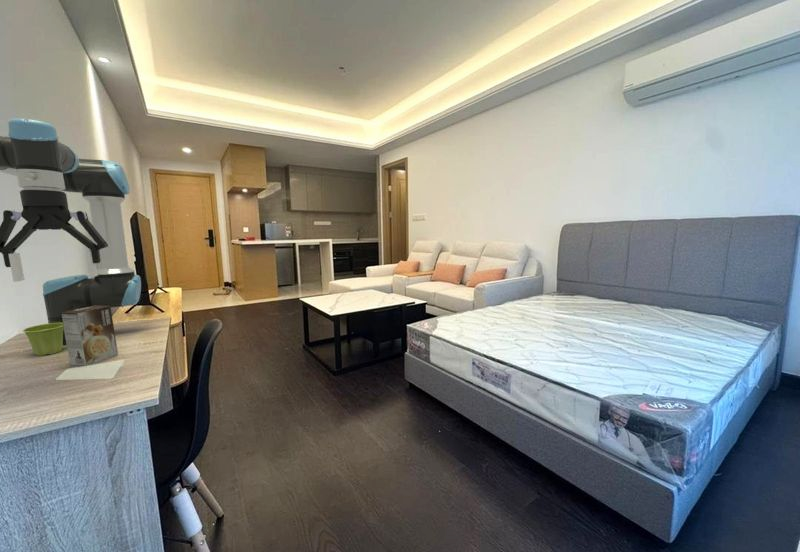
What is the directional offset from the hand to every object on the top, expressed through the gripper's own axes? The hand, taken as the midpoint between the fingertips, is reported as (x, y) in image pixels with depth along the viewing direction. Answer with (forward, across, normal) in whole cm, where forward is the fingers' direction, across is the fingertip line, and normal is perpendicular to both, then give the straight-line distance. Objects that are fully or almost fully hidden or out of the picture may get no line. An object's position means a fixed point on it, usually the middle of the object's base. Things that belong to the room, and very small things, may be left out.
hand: (58, 278), depth 81 cm
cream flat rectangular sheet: (+27, +2, +2) cm, 27 cm away
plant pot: (+28, -17, +33) cm, 46 cm away
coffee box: (+28, -1, +17) cm, 33 cm away
